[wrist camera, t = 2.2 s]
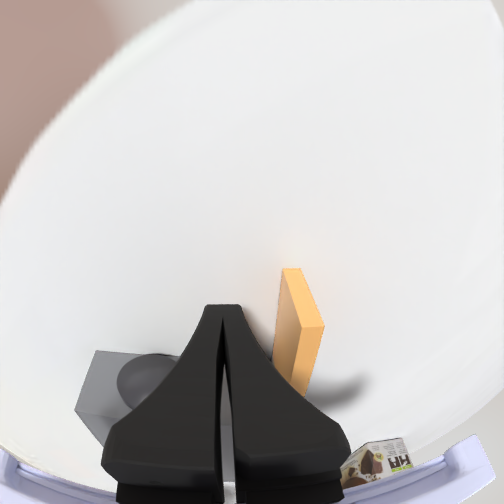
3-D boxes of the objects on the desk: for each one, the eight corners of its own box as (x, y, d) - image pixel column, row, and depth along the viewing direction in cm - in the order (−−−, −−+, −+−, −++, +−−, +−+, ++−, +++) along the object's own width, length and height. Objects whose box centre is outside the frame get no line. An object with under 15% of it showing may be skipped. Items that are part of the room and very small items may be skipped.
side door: (271, 437, 20) (276, 476, 17) (259, 438, 20) (263, 477, 17) (302, 268, 13) (327, 325, 9) (280, 268, 13) (298, 327, 9)
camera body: (255, 432, 20) (260, 484, 16) (135, 428, 20) (128, 478, 15) (264, 348, 16) (276, 424, 11) (92, 343, 15) (67, 410, 10)
